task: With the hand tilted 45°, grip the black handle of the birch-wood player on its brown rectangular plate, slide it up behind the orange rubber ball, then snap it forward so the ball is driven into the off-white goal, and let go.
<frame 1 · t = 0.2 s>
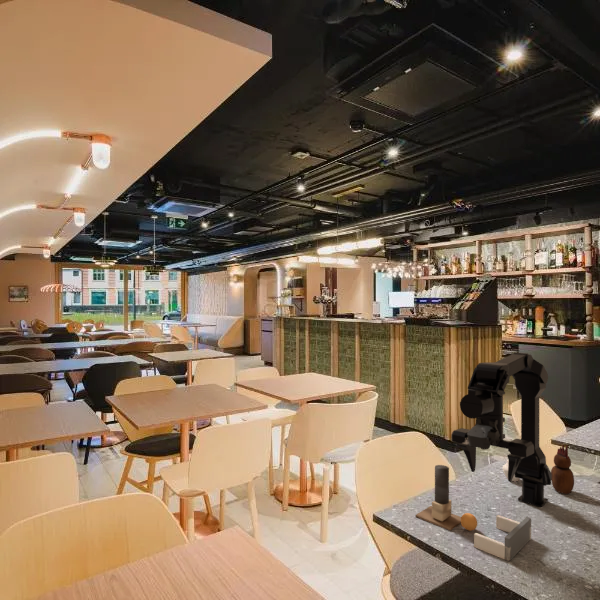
hand: (491, 476, 110), 14 cm above the table, tool pointing down, fingers open, 9 cm apart
muffin: (512, 480, 144), on the table
brown rectangular plate: (441, 519, 117), on the table
ball: (468, 521, 112), point 2 cm above the table
goal: (503, 542, 106), on the table
player: (441, 491, 117), point 7 cm above the table, slide at 0.0 cm
wooden figurine: (562, 492, 136), on the table
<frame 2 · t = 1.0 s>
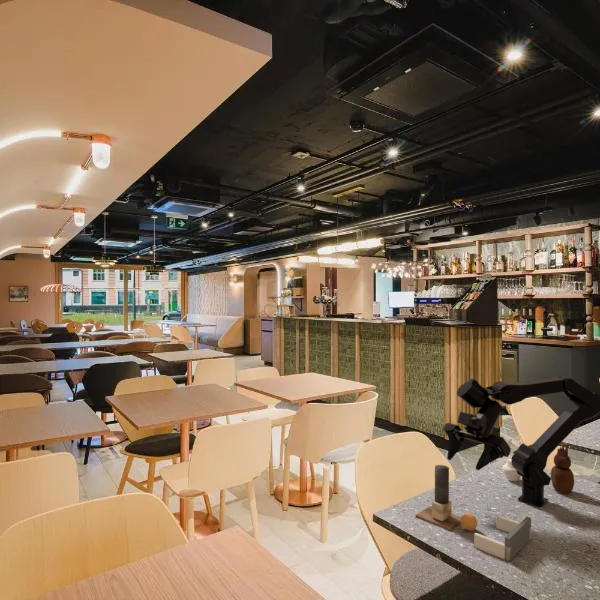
hand: (462, 464, 121), 13 cm above the table, tool tilted 45°, fingers open, 9 cm apart
nothing on the table moved.
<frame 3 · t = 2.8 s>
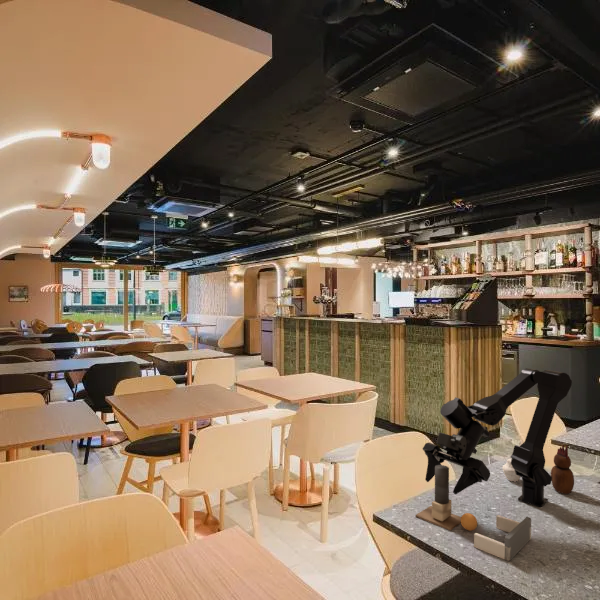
hand: (439, 487, 117), 9 cm above the table, tool tilted 45°, fingers open, 9 cm apart
nothing on the table moved.
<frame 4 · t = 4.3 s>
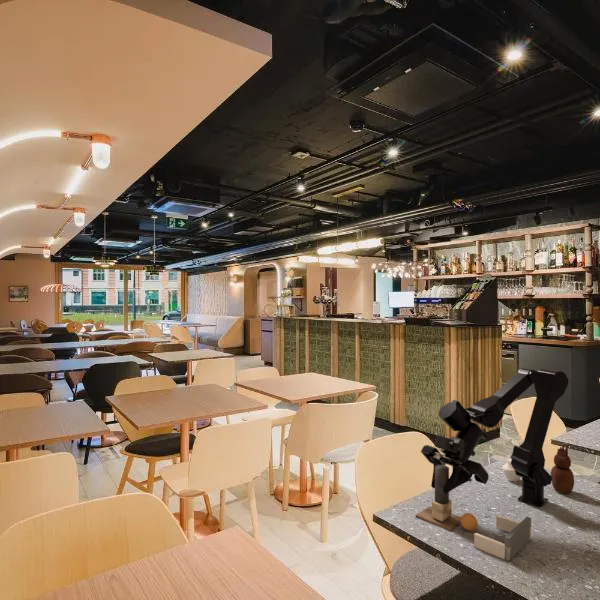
hand: (438, 490, 116), 8 cm above the table, tool tilted 45°, fingers closed on player, 4 cm apart
player: (441, 491, 117), point 7 cm above the table, slide at 0.0 cm, touching gripper
everything else where it was.
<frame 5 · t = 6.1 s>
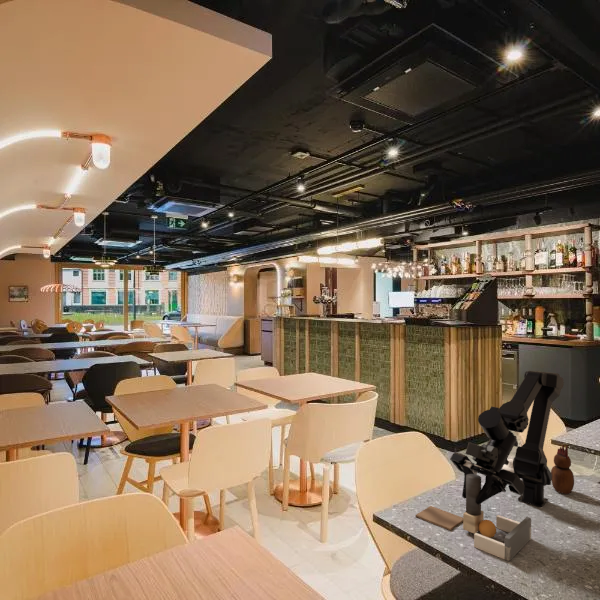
hand: (470, 500, 110), 8 cm above the table, tool tilted 45°, fingers closed on player, 4 cm apart
ball: (487, 528, 108), point 2 cm above the table, tilted 129°
player: (473, 502, 111), point 7 cm above the table, slide at 8.7 cm, touching gripper
everything else where it was.
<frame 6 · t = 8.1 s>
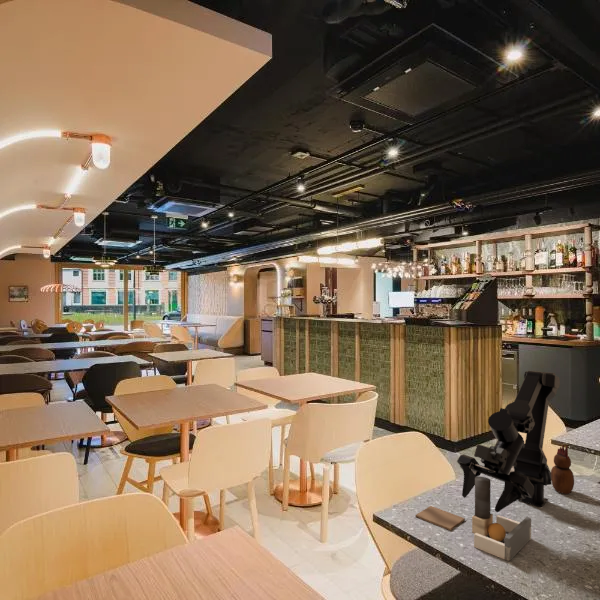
hand: (479, 503, 109), 8 cm above the table, tool tilted 45°, fingers open, 9 cm apart
ball: (496, 532, 107), point 2 cm above the table, tilted 164°
player: (482, 505, 109), point 7 cm above the table, slide at 11.0 cm
everything else where it was.
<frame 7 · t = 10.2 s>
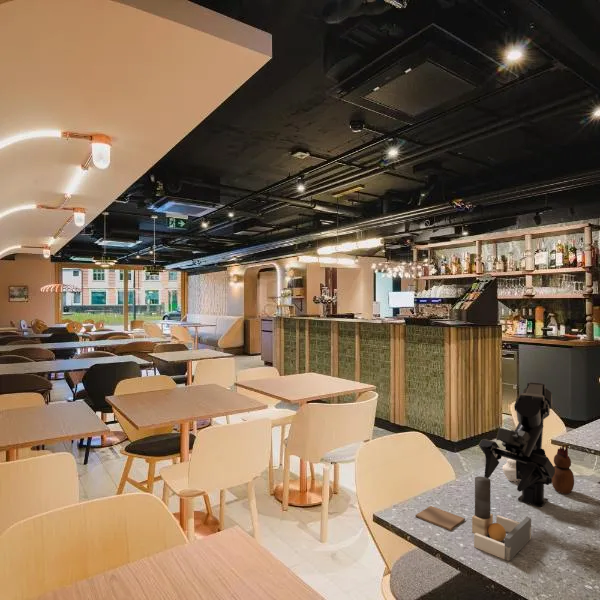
hand: (501, 484, 113), 11 cm above the table, tool tilted 45°, fingers open, 9 cm apart
nothing on the table moved.
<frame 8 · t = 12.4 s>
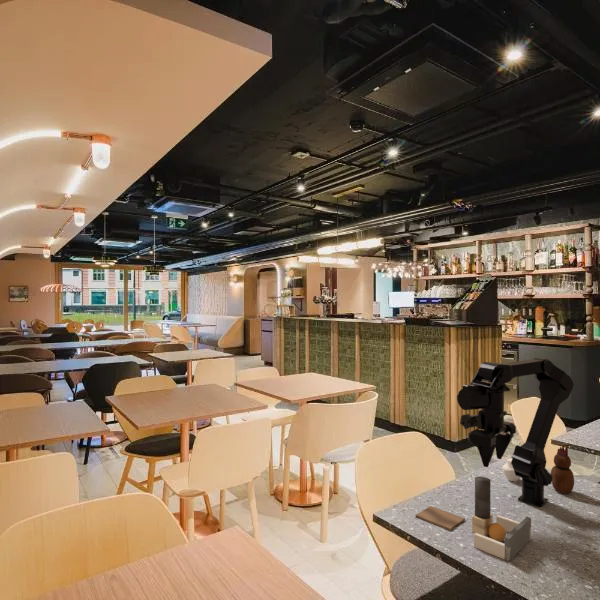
hand: (492, 462, 123), 13 cm above the table, tool pointing down, fingers open, 9 cm apart
nothing on the table moved.
at the end: ball inside the target area on the goal (1.6 cm from its centre), point 2.0 cm above the goal's base; player slide at 11.0 cm; the gripper is holding nothing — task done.
